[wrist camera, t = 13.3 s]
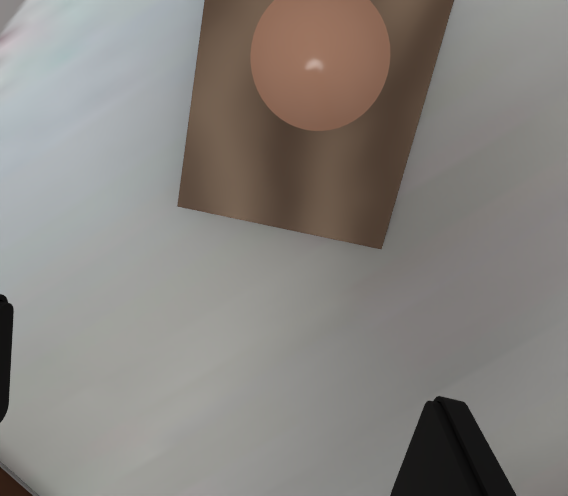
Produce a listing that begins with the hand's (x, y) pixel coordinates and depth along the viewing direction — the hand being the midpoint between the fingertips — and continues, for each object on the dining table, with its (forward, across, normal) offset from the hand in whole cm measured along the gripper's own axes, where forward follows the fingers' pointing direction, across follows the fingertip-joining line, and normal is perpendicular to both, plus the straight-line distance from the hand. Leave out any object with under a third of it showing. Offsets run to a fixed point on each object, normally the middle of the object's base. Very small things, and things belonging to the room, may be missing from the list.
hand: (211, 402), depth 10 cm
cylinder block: (+20, 0, -9) cm, 22 cm away
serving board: (+22, 0, -9) cm, 23 cm away
